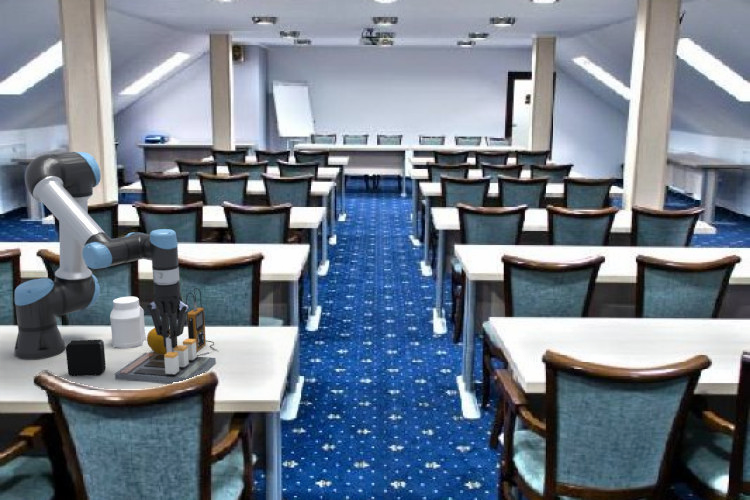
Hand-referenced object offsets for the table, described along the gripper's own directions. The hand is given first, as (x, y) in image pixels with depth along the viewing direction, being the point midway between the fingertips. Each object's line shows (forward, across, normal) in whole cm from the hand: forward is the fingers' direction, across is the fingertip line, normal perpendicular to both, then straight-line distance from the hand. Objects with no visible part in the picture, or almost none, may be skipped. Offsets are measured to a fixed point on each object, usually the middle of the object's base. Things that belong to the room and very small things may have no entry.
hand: (171, 357), depth 230 cm
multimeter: (+5, +2, +21) cm, 22 cm away
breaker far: (+2, +3, +6) cm, 7 cm away
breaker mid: (+2, +3, 0) cm, 4 cm away
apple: (+5, -11, +14) cm, 19 cm away
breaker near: (+2, +3, -6) cm, 7 cm away
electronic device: (+5, -25, -6) cm, 26 cm away
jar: (+5, -27, +22) cm, 35 cm away
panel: (+5, -2, 0) cm, 5 cm away
